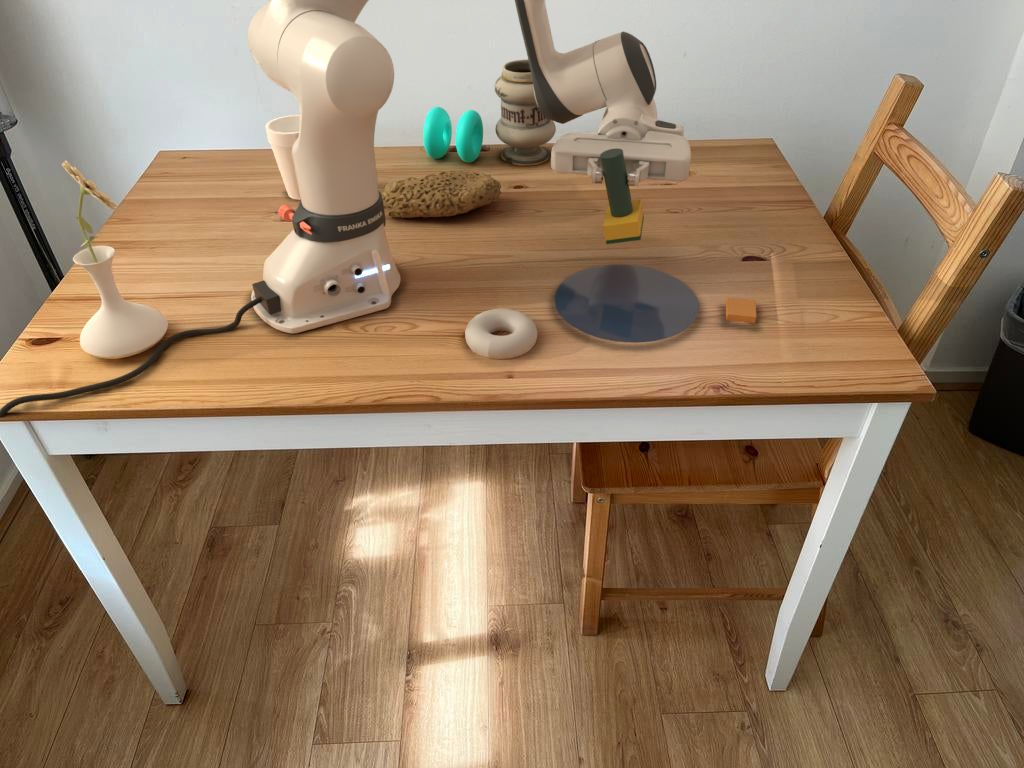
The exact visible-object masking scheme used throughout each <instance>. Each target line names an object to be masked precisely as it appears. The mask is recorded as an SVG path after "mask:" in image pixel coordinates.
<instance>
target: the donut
mask: <svg viewBox="0 0 1024 768" xmlns="http://www.w3.org/2000/svg"><path fill="white" fill-rule="evenodd" d="M500 331H501V332H507V333H509V334H505V335H498V334H497V335H496V334H493V333H496V332H500ZM538 335H539V333H538V328H537V325H536V323H535V321H533V319H532V318H531V317H530V316H528V315H527V314H525V313H523V312H522V311H519V310H516V309H513V308H491V309H488V310H485V311H482V312H481V313H478V314H476V315H474V317H473V318H471V319H470V320H469V322H467V326H466V328H465V331H464V337H465V342H466V344H467V346H468V347H469V349H470V350H471V351H472V352H473V353H475V354H477V355H478V356H481V357H484V358H487V359H493V360H509V359H514V358H517V357H521V356H523V355H525V354H526V353H528V352H530V351H531V350H532V349H533V348H534V347H535V345H536V344H537V340H538Z"/></svg>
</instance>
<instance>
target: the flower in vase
mask: <svg viewBox="0 0 1024 768" xmlns="http://www.w3.org/2000/svg"><path fill="white" fill-rule="evenodd" d="M61 166H62V167H63V169H64V170H65V171H66V172H67V174H68V175H69V176H70V177H71V178H72V179H74V181H75V182H76V183H77V184H79V185H80V186H79V190H80V195H79V200H78V211H77V215H78V216H76V220H77V222H78V225H79V227H80V230H81V233H82V235H83V238H84V242H83V243H82V244H81V245H80V248H81V247H84V246H86V245H87V247H85V248H84V249H81V250H79V251H77V252H76V254H74V256H72V261H73V263H75V264H76V265H78V266H79V267H81V268H82V269H84V270H85V272H86V273H88V275H89V276H90V278H91V280H92V281H93V283H94V284H95V287H96V289H97V291H98V293H99V296H100V301H101V305H100V308H99V309H98V311H96V312H95V313H94V314H93V315H92V316H91V318H89V320H88V321H87V322H86V323H85V325H84V327H83V328H82V330H81V332H80V335H79V345H80V347H81V349H82V350H83V351H84V352H85V353H87V354H89V355H91V356H93V357H96V358H99V359H106V360H109V359H110V360H111V359H113V360H115V359H122V358H127V357H128V358H129V357H131V356H135V355H138V354H141V353H143V352H146V351H147V350H150V349H151V348H153V347H154V346H155V345H157V344H158V343H159V342H160V341H161V340H162V339H163V338H164V337H165V335H166V333H167V330H168V327H169V321H168V319H167V317H166V316H165V315H164V314H163V313H162V312H161V311H160V310H159V309H157V308H154V307H151V306H149V305H146V304H142V303H137V302H132V301H129V300H126V299H124V298H123V297H122V295H121V294H120V292H119V290H118V287H117V285H116V282H115V277H114V274H113V260H114V257H115V255H116V250H115V248H114V247H112V246H109V245H95V246H94V245H93V246H92V245H91V242H92V241H93V240H95V239H96V238H98V237H99V236H100V235H98V234H97V235H90V236H89V238H88V236H87V233H89V234H93V233H94V229H93V227H92V225H90V224H89V222H88V221H86V219H85V218H84V217H83V216H82V211H83V209H82V208H83V202H84V196H88V195H89V196H90V195H91V196H92V197H94V199H96V201H98V202H99V203H101V204H102V205H103V206H104V207H106V208H107V209H109V210H112V211H115V210H117V208H118V207H119V206H118V204H116V203H115V202H113V201H112V198H111V196H109V195H108V194H106V193H104V192H103V191H101V190H99V189H97V184H96V183H95V182H93V180H91V179H88V180H87V179H86V177H85V176H84V175H83V173H82V172H81V171H80V170H79V169H78V167H76V166H73V165H71V163H70V162H69V161H68V160H64V161H63V162H62V163H61ZM86 232H87V233H86Z"/></svg>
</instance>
